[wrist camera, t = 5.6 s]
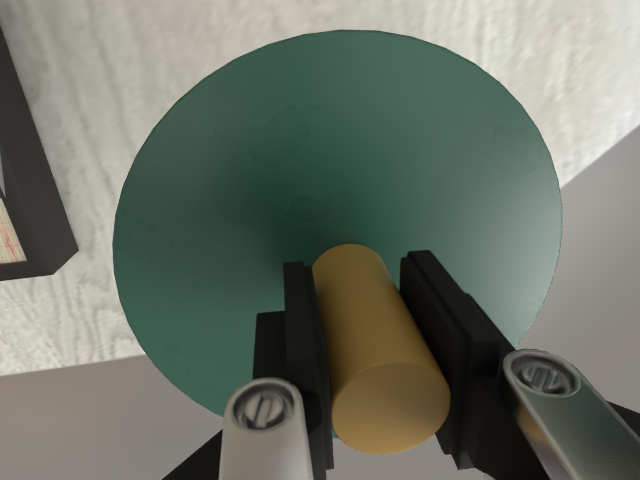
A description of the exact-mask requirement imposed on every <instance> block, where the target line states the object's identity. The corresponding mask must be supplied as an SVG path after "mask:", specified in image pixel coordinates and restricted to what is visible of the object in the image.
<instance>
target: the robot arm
mask: <svg viewBox="0 0 640 480" xmlns="http://www.w3.org/2000/svg"><path fill="white" fill-rule="evenodd" d="M283 277H284V301H285V310H284V311H274V312H264V313H257V317H256V331H255V345H254V360H253V374H252V380H251V381H249V382H247V383H245V384H243V385H241V386H240V387H239V388H238V389H236V390H235V391H234V392H233V393H232V394H231V396H230V397H229V399H228V400H227V403H226V406H225V410H224V421H223V429H222V430H221V431H220V432H218V433H217V434H216V435H215V436H214V437H213V438H211V439H210V440H209V441H208V442H206V443H205V444H204V445H203V446H202V447H201V448H199V449H198V450H197V451H196V452H194V453H193V454H192V455H191V456H190V457H188V458H187V459H186V460H185V461H184V462H183V463H181V464H180V465H179V466H178V467H176V468H175V469H174V470H173V471H172V472H170V473H169V474H168V475H167V476H166V477H164V478H163V479H162V480H326V470H329V469H334V461H333V443H332V422H331V403H330V384H329V367H328V357H327V350H326V344H325V338H324V333H323V327H322V322H321V316H320V310H319V305H318V299H317V294H316V288H315V282H314V277H313V271H312V266H311V265H310V266H304V264H303V261H296V262H285V263H283ZM399 292H400V294H401V296H402V298H403V299H404V301H405V303H406V305H407V307H408V309H409V311H410V313H411V314H412V316H413V318H414V320H415V322H416V324H417V326H418V328H419V329H420V331H421V333H422V335H423V337H424V339H425V341H426V343H427V344H428V346H429V348H430V350H431V352H432V354H433V356H434V358H435V359H436V361H437V363H438V365H439V367H440V369H441V371H442V373H443V374H444V376H445V378H446V380H447V382H448V384H449V387H450V390H451V401H450V410H449V414H448V416H447V418H446V420H445V422H444V423H443V425H442V426H441V427H440V429H439V430H438V431H437V432H436V433H435V435H436V437H437V439H438V442H439V444H440V446H441V449H442V451H443V452H444V454H446V455H447V454H451V455H452V457H453V459H454V461H455V464H456V466H457V468H458V470H460V469H469V468H477V469H479V470H480V471H482V472H484V473H485V475H484V478H485V480H640V413H637V412H635V411H632V410H629V409H627V408H624V407H621V406H619V405H616V404H613V403H611V402H608V401H606V400H605V399H604V398H603V397H602V395H601V394H600V393H599V392H598V391H597V390H596V389H595V388H594V387H593V386H592V384H591V383H590V382H589V381H588V380H587V379H586V378H585V377H584V376H583V374H582V373H581V372H580V371H579V370H578V369H577V368H576V367H575V366H573V365H572V364H571V363H570V362H568V361H567V360H565V359H563V358H561V357H560V356H558V355H555V354H552V353H550V352H547V351H541V350H537V349H520V350H516V349H515V348H514V347H513V346H512V344H511V343H510V342H509V341H508V340H507V338H506V337H505V336H504V335H503V334H502V332H501V331H500V330H499V329H498V327H497V326H496V325H495V324H494V323H493V321H492V320H491V319H490V318H489V317H488V315H487V314H486V313H485V312H484V311H483V309H482V308H481V307H480V306H479V304H478V303H477V302H476V301H475V300H474V298H473V297H472V296H471V295H470V294H469V293H464V291H463V290H462V289H461V288H460V286H459V285H458V284H457V283H456V281H455V280H454V279H453V278H452V276H451V275H450V274H449V273H448V271H447V270H446V269H445V268H444V267H443V265H442V264H441V263H440V262H439V260H438V259H437V258H436V257H435V255H434V254H433V253H432V252H431V251H430V250H418V251H409V252H408V253H407V257H402V258H401V260H400V284H399Z"/></svg>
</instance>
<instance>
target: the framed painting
mask: <svg viewBox="0 0 640 480" xmlns="http://www.w3.org/2000/svg"><path fill="white" fill-rule="evenodd" d="M0 154H1V163H2V171H3V179H4V188H5V195H4V193H3V191H2V189H1V187H0V281H4V280H13V279H21V278H29V277H38V276H46V275H53V274H54V273H55V272H56V271H57V270H58V269H59V268H61V267H62V266H63V265H64V264H65V263H66V262H67V261H68V260H69V259H70V258H71V257H72V256H73V255H74V254H76V253H77V252H78V251H79V250H78V247H77V244H76V241H75V238H74V236H73V233H72V230H71V227H70V224H69V221H68V219H67V216H66V213H65V210H64V207H63V204H62V201H61V199H60V196H59V193H58V190H57V187H56V184H55V181H54V179H53V176H52V173H51V170H50V167H49V164H48V162H47V159H46V156H45V153H44V150H43V147H42V144H41V142H40V139H39V136H38V133H37V130H36V127H35V124H34V122H33V119H32V116H31V113H30V110H29V107H28V105H27V102H26V99H25V96H24V93H23V90H22V87H21V85H20V82H19V79H18V76H17V73H16V70H15V67H14V65H13V62H12V59H11V56H10V53H9V50H8V48H7V45H6V42H5V39H4V36H3V33H2V30H1V28H0ZM5 196H6V197H5Z"/></svg>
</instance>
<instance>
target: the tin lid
mask: <svg viewBox="0 0 640 480" xmlns="http://www.w3.org/2000/svg"><path fill="white" fill-rule="evenodd" d="M561 237H562V203H561V195H560V189H559V182H558V178H557V175H556V171H555V168H554V165H553V161H552V158H551V155H550V153H549V150H548V148H547V146H546V144H545V142H544V140H543V138H542V136H541V134H540V132H539V130H538V128H537V126H536V125H535V124H534V122H533V121H532V119H531V118H530V116H529V115H528V114H527V112H526V111H525V109H524V108H523V106H522V105H521V104H520V103H519V102H518V101H517V100H516V98H515V97H514V96H513V95H512V94H511V93H510V92H509V91H508V90H507V89H506V88H505V87H504V86H503V85H502V84H501V83H500V82H499V81H497V80H496V79H495V78H493V77H492V76H491V75H489V74H488V73H487V72H485V71H484V70H483V69H481V68H480V67H479V66H477V65H476V64H475V63H473V62H471V61H469V60H467V59H465V58H464V57H462V56H460V55H458V54H456V53H454V52H452V51H450V50H448V49H446V48H444V47H441V46H438V45H435V44H432V43H429V42H427V41H424V40H421V39H418V38H415V37H411V36H406V35H400V34H394V33H389V32H383V31H376V30H334V31H326V32H318V33H310V34H303V35H300V36H296V37H292V38H289V39H285V40H282V41H278V42H274V43H271V44H268V45H265V46H263V47H261V48H259V49H256V50H254V51H252V52H249V53H247V54H245V55H243V56H240V57H238V58H236V59H234V60H232V61H231V62H229V63H227V64H226V65H224V66H223V67H221V68H220V69H218V70H216V71H215V72H213V73H212V74H210V75H208V76H207V77H205V78H204V79H202V80H201V81H200V82H199V83H198V84H197V85H195V86H194V87H193V88H192V89H191V90H190V91H188V92H187V93H186V94H185V95H184V96H183V97H181V98H180V99H179V100H178V101H177V102H176V103H175V104H174V105H173V106H172V107H171V109H170V110H169V111H168V112H167V113H166V114H165V115H164V117H163V118H162V119H161V120H160V121H159V122H158V124H157V125H156V126H155V127H154V128H153V130H152V131H151V133H150V135H149V136H148V138H147V139H146V141H145V142H144V144H143V146H142V147H141V149H140V150H139V152H138V154H137V155H136V157H135V159H134V162H133V164H132V166H131V168H130V171H129V173H128V175H127V178H126V180H125V182H124V185H123V188H122V192H121V195H120V199H119V203H118V207H117V211H116V215H115V224H114V234H113V243H112V246H113V264H114V275H115V280H116V285H117V289H118V294H119V299H120V302H121V305H122V307H123V310H124V313H125V315H126V318H127V321H128V323H129V326H130V327H131V329H132V331H133V333H134V335H135V337H136V338H137V340H138V342H139V344H140V346H141V347H142V349H143V350H144V351H145V353H146V354H147V355H148V357H149V358H150V359H151V361H152V362H153V363H154V365H155V366H156V367H157V368H158V369H159V370H160V371H161V373H163V375H165V377H166V378H167V379H168V380H169V381H170V382H171V383H172V384H173V385H175V386H176V387H177V388H178V389H180V390H181V391H182V392H183V393H184V394H186V395H187V396H188V397H190V398H191V399H192V400H194V401H195V402H197V403H198V404H200V405H202V406H203V407H205V408H207V409H208V410H210V411H212V412H213V413H215V414H217V415H219V416H222V417H224V410H225V406H226V403H227V400H228V399H229V397H230V396H231V394H232V393H233V392H234V391H235V390H236V389H238V388H239V387H240V386H241V385H243V384H245V383H247V382H249V381H251V380H252V374H253V360H254V345H255V331H256V317H257V313H264V312H274V311H284V310H285V301H284V277H283V263H285V262H296V261H303V264H304V266H310V265H311V266H312V271H313V277H314V282H315V288H316V294H317V299H318V305H319V310H320V316H321V322H322V327H323V333H324V338H325V344H326V350H327V357H328V367H329V384H330V403H331V422H332V439H333V438H339V439H340V440H341V441H342V442H343V443H344V444H346V445H347V446H349V447H351V448H353V449H355V450H358V451H360V452H364V453H370V454H391V453H397V452H401V451H405V450H408V449H410V448H413V447H415V446H417V445H419V444H421V443H423V442H424V441H426V440H427V439H429V438H430V437H431V436H432V435H434V434H435V433H436V432H437V431H438V430H439V429H440V427H441V426H442V425H443V423H444V422H445V420H446V418H447V416H448V414H449V410H450V401H451V390H450V387H449V384H448V382H447V380H446V378H445V376H444V374H443V373H442V371H441V369H440V367H439V365H438V363H437V361H436V359H435V358H434V356H433V354H432V352H431V350H430V348H429V346H428V344H427V343H426V341H425V339H424V337H423V335H422V333H421V331H420V329H419V328H418V326H417V324H416V322H415V320H414V318H413V316H412V314H411V313H410V311H409V309H408V307H407V305H406V303H405V301H404V299H403V298H402V296H401V294H400V292H399V284H400V260H401V258H402V257H407V253H408V252H409V251H418V250H430V251H431V252H432V253H433V254H434V255H435V257H436V258H437V259H438V260H439V262H440V263H441V264H442V265H443V267H444V268H445V269H446V270H447V271H448V273H449V274H450V275H451V276H452V278H453V279H454V280H455V281H456V283H457V284H458V285H459V286H460V288H461V289H462V290H463V291H464V293H469V294H470V295H471V296H472V297H473V298H474V300H475V301H476V302H477V303H478V304H479V306H480V307H481V308H482V309H483V311H484V312H485V313H486V314H487V315H488V317H489V318H490V319H491V320H492V321H493V323H494V324H495V325H496V326H497V327H498V329H499V330H500V331H501V332H502V334H503V335H504V336H505V337H506V338H507V340H508V341H509V342H510V343H511V344H512V346H513V347H514V348H516V346H517V345H518V344H519V342H520V341H521V339H522V338H523V337H524V335H525V334H526V333H527V331H528V330H529V328H530V327H531V325H532V323H533V321H534V320H535V318H536V316H537V314H538V313H539V311H540V309H541V307H542V305H543V303H544V300H545V298H546V296H547V293H548V291H549V289H550V286H551V284H552V281H553V277H554V273H555V270H556V266H557V263H558V259H559V252H560V245H561Z"/></svg>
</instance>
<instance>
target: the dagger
mask: <svg viewBox="0 0 640 480" xmlns="http://www.w3.org/2000/svg"><path fill="white" fill-rule="evenodd" d="M0 187H1V189H2V191H3V193H4V195H5V188H4V179H3V171H2V163H1V154H0ZM5 197H6V196H5Z"/></svg>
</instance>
